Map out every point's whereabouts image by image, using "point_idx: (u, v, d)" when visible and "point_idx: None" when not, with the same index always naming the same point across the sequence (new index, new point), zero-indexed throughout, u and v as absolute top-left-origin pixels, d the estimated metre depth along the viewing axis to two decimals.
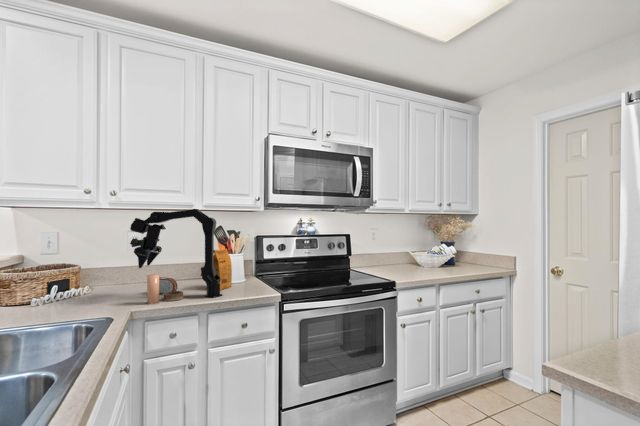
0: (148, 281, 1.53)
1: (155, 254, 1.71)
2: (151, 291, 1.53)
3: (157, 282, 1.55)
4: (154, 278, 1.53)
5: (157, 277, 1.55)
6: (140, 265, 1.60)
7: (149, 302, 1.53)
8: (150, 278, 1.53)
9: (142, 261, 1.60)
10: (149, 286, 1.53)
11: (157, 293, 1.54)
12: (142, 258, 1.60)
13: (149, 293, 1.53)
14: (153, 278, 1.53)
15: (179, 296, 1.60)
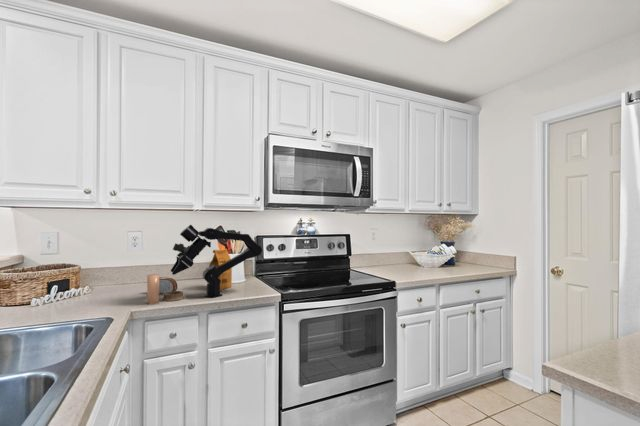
0: (148, 281, 1.53)
1: None
2: (151, 291, 1.53)
3: (157, 282, 1.55)
4: (154, 278, 1.53)
5: (157, 277, 1.55)
6: (175, 272, 1.55)
7: (149, 302, 1.53)
8: (150, 278, 1.53)
9: (180, 269, 1.56)
10: (149, 286, 1.53)
11: (157, 293, 1.54)
12: (181, 266, 1.56)
13: (149, 293, 1.53)
14: (153, 278, 1.53)
15: (179, 296, 1.60)
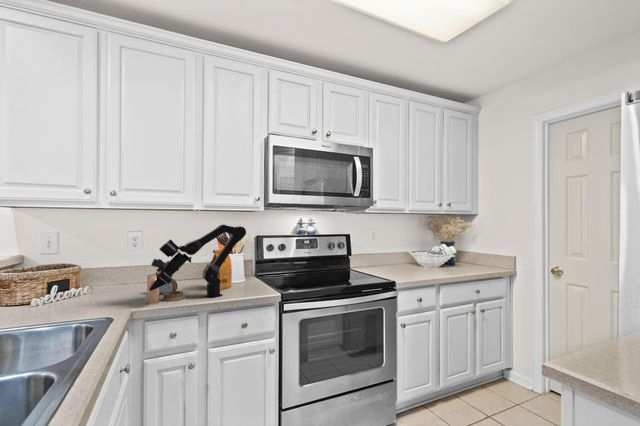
0: (148, 281, 1.53)
1: None
2: (151, 291, 1.53)
3: None
4: (154, 278, 1.53)
5: None
6: (152, 288, 1.52)
7: (149, 302, 1.53)
8: (150, 278, 1.53)
9: (157, 285, 1.53)
10: (149, 286, 1.53)
11: (157, 293, 1.54)
12: (159, 282, 1.53)
13: (149, 293, 1.53)
14: (153, 278, 1.53)
15: (179, 296, 1.60)
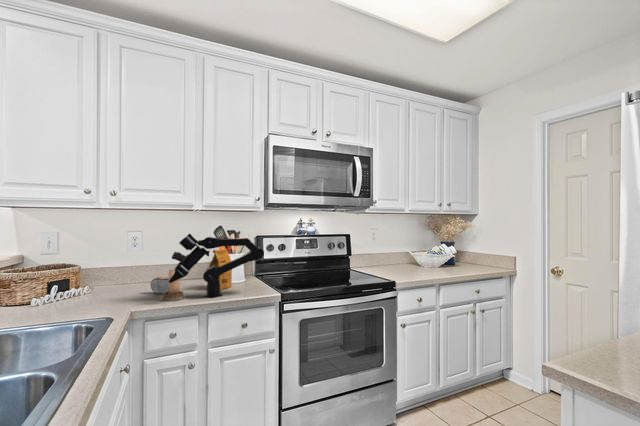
0: (169, 276, 1.61)
1: None
2: (171, 286, 1.60)
3: None
4: None
5: None
6: (171, 280, 1.57)
7: None
8: (171, 273, 1.60)
9: (176, 278, 1.57)
10: None
11: (177, 288, 1.61)
12: (177, 275, 1.58)
13: (169, 287, 1.60)
14: None
15: (179, 296, 1.60)
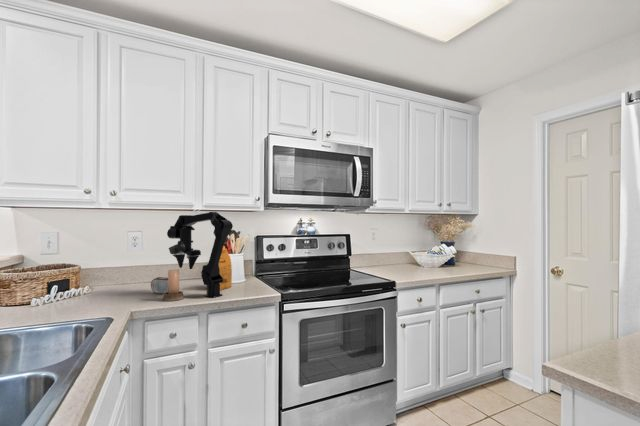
0: (168, 276, 1.60)
1: (183, 255, 1.80)
2: (171, 286, 1.60)
3: (177, 277, 1.61)
4: (174, 273, 1.60)
5: (177, 272, 1.61)
6: (191, 266, 1.73)
7: None
8: (170, 273, 1.60)
9: (193, 262, 1.73)
10: (169, 281, 1.60)
11: (177, 288, 1.61)
12: (192, 259, 1.72)
13: (169, 288, 1.60)
14: (173, 273, 1.60)
15: (179, 296, 1.60)
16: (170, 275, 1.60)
